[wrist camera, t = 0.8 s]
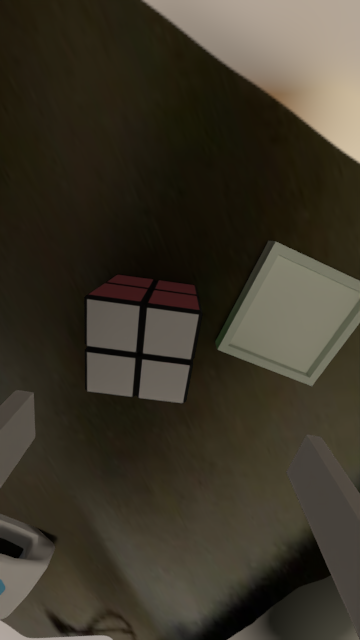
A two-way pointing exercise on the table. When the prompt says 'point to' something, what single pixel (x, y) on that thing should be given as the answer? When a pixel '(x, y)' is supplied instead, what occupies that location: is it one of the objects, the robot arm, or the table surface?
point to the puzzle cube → (141, 338)
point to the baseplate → (291, 314)
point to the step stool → (21, 562)
